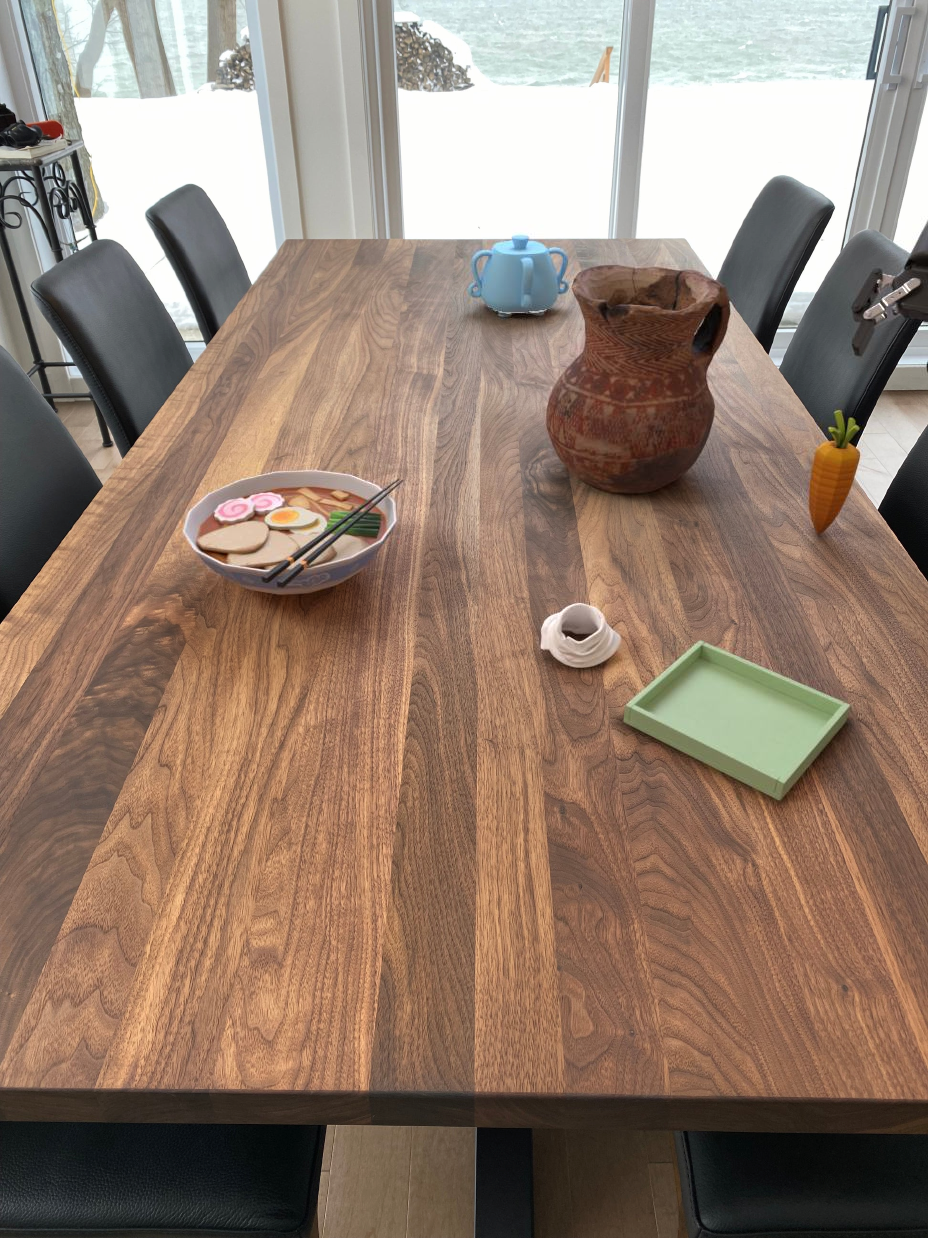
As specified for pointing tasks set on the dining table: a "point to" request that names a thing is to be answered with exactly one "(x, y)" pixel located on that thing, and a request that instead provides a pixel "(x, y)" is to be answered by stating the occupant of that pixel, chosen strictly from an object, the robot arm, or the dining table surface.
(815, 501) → the carrot
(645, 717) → the green tray
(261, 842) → the dining table surface
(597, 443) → the jug
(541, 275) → the decorative pot
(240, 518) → the ramen bowl
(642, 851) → the dining table surface
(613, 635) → the white cowl scarf
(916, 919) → the dining table surface
